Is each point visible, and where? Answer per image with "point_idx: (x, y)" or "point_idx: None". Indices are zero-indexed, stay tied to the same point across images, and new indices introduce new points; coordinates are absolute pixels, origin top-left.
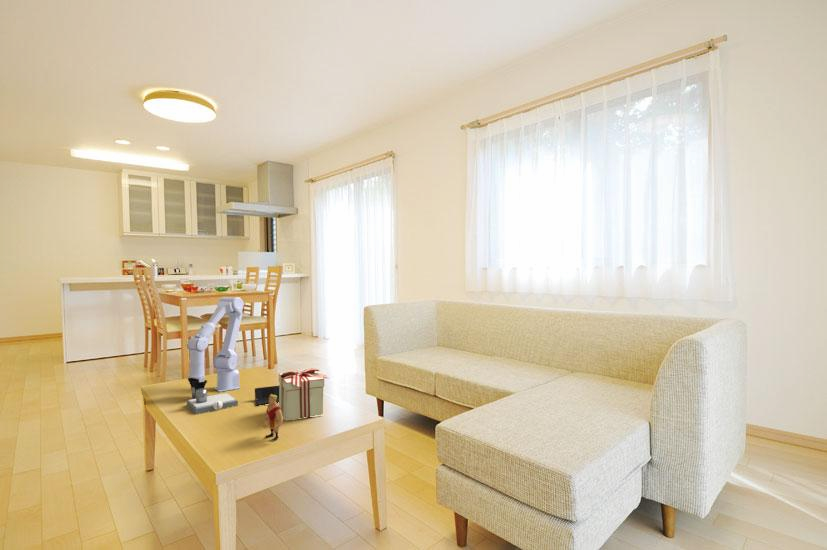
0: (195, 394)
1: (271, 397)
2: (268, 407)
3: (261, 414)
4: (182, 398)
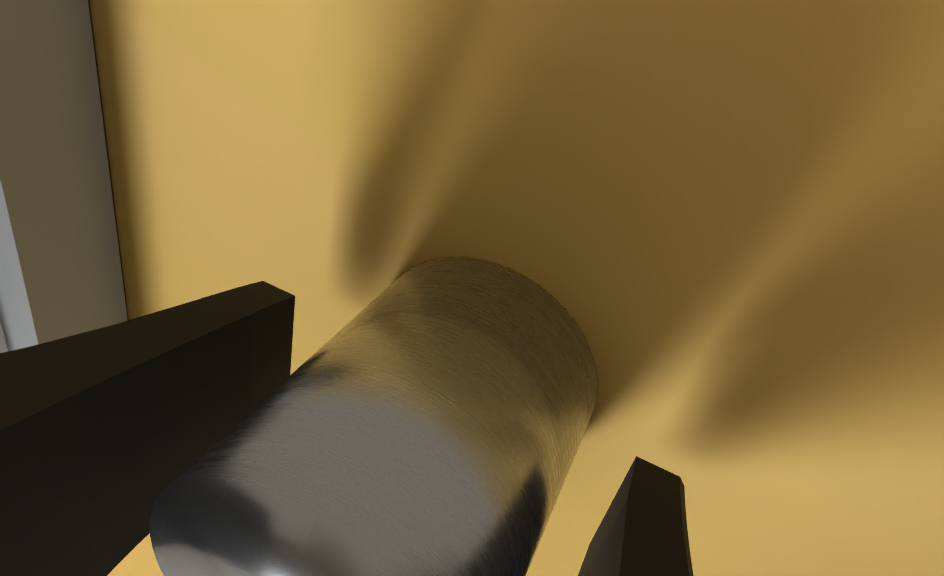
0: (320, 349)
1: None
2: None
3: None
4: (900, 195)
